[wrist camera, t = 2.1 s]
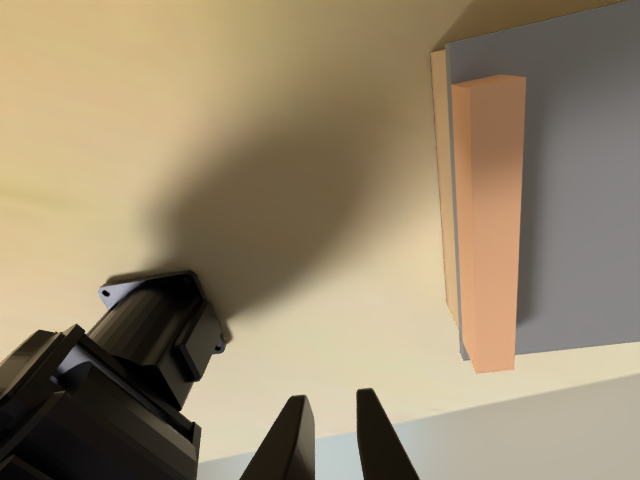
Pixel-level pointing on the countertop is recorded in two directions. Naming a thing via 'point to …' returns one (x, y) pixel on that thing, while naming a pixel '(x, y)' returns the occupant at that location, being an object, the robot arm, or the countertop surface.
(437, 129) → the box
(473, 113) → the lid
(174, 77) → the countertop surface
